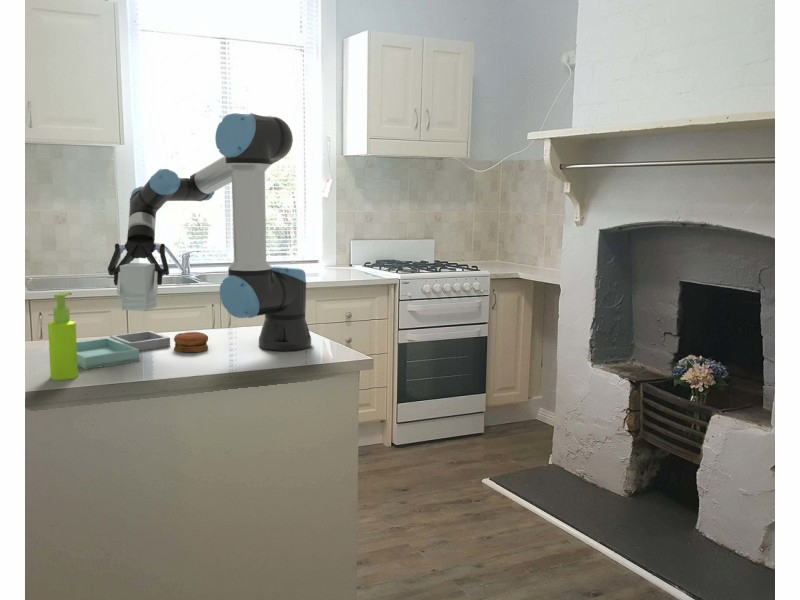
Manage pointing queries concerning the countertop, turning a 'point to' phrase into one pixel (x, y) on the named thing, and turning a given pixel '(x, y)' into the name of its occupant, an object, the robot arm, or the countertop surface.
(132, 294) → the supplement box
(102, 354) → the tray
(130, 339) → the holder
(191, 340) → the burger
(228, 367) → the countertop surface
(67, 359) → the soap dispenser
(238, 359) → the countertop surface
